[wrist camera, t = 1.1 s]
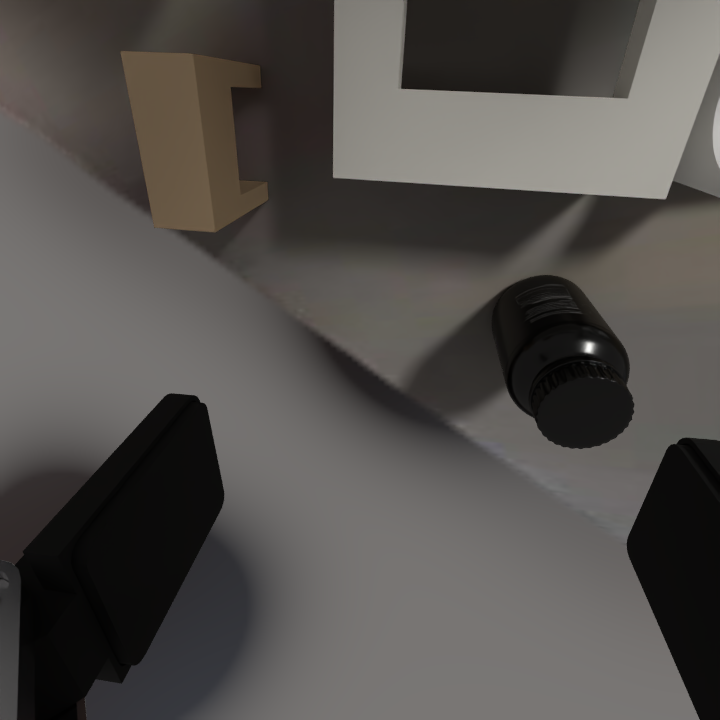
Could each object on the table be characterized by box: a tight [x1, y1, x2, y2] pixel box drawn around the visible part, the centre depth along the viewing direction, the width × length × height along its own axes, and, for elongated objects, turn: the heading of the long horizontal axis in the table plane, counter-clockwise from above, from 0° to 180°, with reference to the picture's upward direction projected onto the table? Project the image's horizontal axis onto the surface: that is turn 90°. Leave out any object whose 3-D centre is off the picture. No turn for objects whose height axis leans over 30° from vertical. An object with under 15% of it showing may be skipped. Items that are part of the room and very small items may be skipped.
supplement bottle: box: [492, 275, 634, 449], centre depth 28 cm, size 7×7×12 cm
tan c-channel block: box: [120, 51, 268, 232], centre depth 26 cm, size 8×4×9 cm, turn 178°
